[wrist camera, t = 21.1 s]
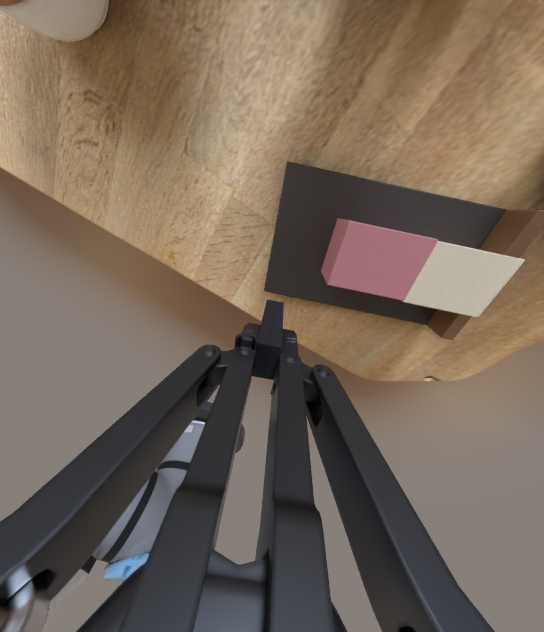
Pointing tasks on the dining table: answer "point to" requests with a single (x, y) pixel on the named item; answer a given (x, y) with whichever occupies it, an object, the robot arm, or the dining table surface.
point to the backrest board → (388, 212)
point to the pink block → (375, 259)
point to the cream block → (461, 279)
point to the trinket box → (57, 16)
